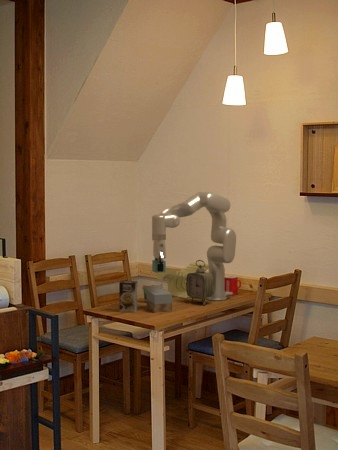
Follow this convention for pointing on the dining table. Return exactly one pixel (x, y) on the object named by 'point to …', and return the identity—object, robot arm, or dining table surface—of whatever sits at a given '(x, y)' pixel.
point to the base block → (159, 307)
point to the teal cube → (155, 266)
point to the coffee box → (128, 296)
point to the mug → (232, 284)
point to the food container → (150, 289)
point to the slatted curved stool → (179, 279)
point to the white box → (159, 296)
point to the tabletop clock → (200, 284)
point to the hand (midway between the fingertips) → (158, 270)
